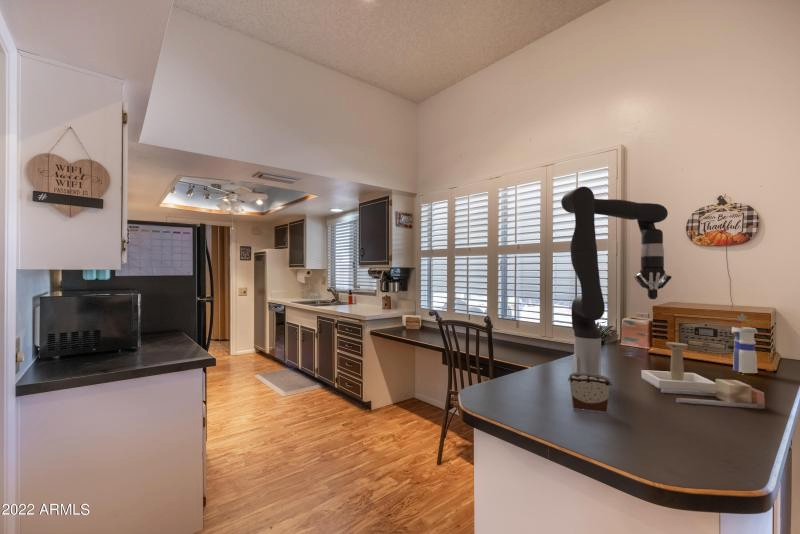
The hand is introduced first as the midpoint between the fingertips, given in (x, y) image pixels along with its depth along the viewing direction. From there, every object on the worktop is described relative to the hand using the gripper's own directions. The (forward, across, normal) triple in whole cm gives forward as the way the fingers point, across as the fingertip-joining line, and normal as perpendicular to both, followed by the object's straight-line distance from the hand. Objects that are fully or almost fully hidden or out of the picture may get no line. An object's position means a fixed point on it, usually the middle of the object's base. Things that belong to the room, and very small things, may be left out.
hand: (652, 299), depth 142 cm
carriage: (+32, -14, +21) cm, 41 cm away
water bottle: (+32, -44, -22) cm, 59 cm away
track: (+32, -8, +21) cm, 39 cm away
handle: (+32, -6, +5) cm, 33 cm away
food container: (+32, +34, +38) cm, 60 cm away
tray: (+32, -6, +5) cm, 33 cm away
